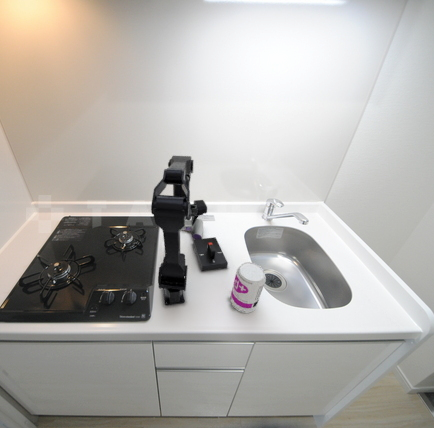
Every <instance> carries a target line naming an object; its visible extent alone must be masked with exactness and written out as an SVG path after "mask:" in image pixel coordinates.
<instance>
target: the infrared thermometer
mask: <svg viewBox="0 0 434 428" xmlns="http://www.w3.org/2000/svg"><path fill="white" fill-rule="evenodd" d="M180 231H186V232H190V233H191V238H193V240H195V239H203V233H204V221H203V219H201V218H197V219H196V221H195V223H194V225H193V226H192V225H191V219H190V220H185V226H184V227H183V228H182V229H181V230H180Z"/></svg>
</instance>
